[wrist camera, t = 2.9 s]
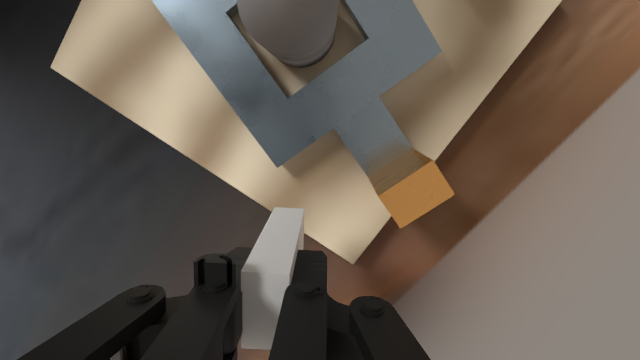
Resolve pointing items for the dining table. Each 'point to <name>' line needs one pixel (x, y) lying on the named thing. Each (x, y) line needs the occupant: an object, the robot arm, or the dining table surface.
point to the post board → (293, 74)
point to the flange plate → (326, 94)
